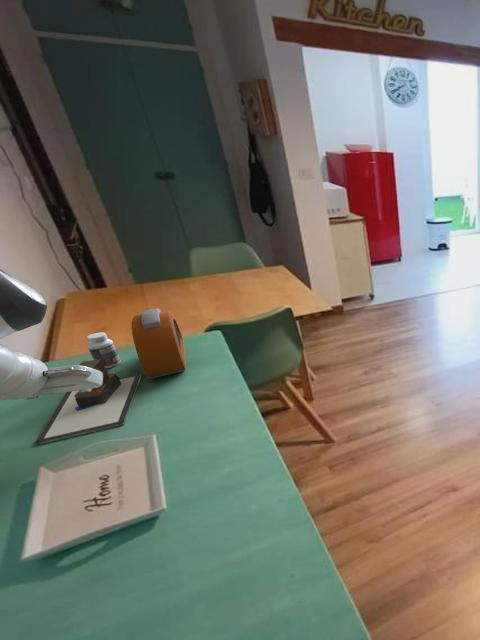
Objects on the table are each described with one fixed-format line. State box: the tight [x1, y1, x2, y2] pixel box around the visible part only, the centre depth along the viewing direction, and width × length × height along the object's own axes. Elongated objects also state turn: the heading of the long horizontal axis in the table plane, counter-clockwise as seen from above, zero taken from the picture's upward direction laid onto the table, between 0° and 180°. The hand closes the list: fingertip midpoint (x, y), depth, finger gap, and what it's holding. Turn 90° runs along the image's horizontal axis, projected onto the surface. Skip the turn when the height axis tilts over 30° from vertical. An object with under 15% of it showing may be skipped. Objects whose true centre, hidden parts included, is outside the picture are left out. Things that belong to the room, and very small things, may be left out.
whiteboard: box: [34, 373, 143, 446], centre depth 105 cm, size 15×26×1 cm, turn 31°
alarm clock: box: [131, 308, 187, 379], centre depth 122 cm, size 23×9×17 cm, turn 37°
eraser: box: [75, 359, 121, 407], centre depth 107 cm, size 10×5×9 cm, turn 21°
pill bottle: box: [86, 332, 122, 369], centre depth 122 cm, size 5×5×10 cm
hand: (61, 392), depth 95 cm, fingers open, 8 cm apart
